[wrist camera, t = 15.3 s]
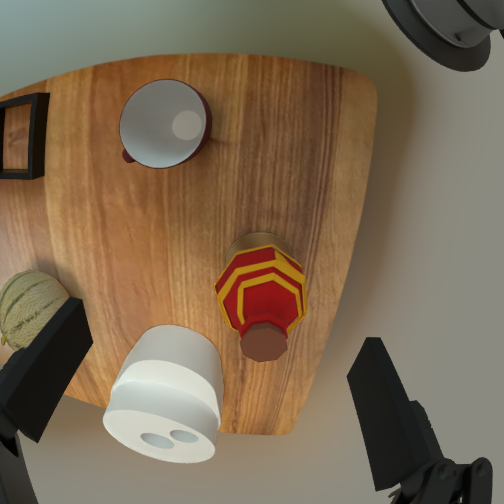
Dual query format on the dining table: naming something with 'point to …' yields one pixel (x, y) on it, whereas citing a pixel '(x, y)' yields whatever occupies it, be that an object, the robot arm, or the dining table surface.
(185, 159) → the mug
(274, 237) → the coaster
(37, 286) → the cantaloupe
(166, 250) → the dining table surface
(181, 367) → the white stepped block
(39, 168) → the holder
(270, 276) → the potion bottle
